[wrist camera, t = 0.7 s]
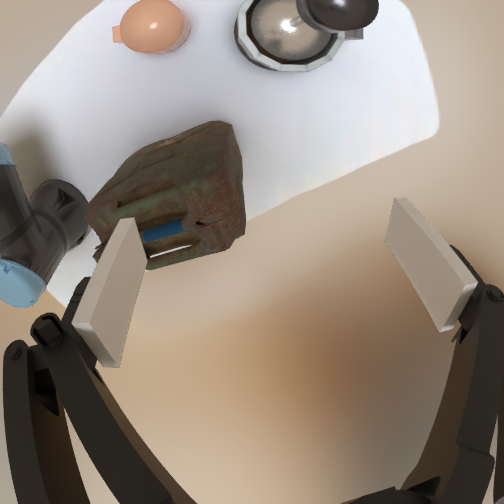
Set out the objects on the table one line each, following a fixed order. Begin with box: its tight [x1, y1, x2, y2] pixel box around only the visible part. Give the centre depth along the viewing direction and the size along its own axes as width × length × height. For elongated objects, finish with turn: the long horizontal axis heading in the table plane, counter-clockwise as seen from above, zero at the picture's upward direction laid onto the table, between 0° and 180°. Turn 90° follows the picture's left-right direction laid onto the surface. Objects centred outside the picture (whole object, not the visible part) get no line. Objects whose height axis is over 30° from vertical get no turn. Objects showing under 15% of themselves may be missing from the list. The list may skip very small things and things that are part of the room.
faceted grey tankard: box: [234, 0, 363, 72], centre depth 31 cm, size 15×13×13 cm
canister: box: [84, 121, 246, 270], centre depth 38 cm, size 19×8×25 cm, turn 107°
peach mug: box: [112, 0, 190, 53], centre depth 30 cm, size 10×8×9 cm
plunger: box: [251, 0, 379, 60], centre depth 19 cm, size 9×9×18 cm
